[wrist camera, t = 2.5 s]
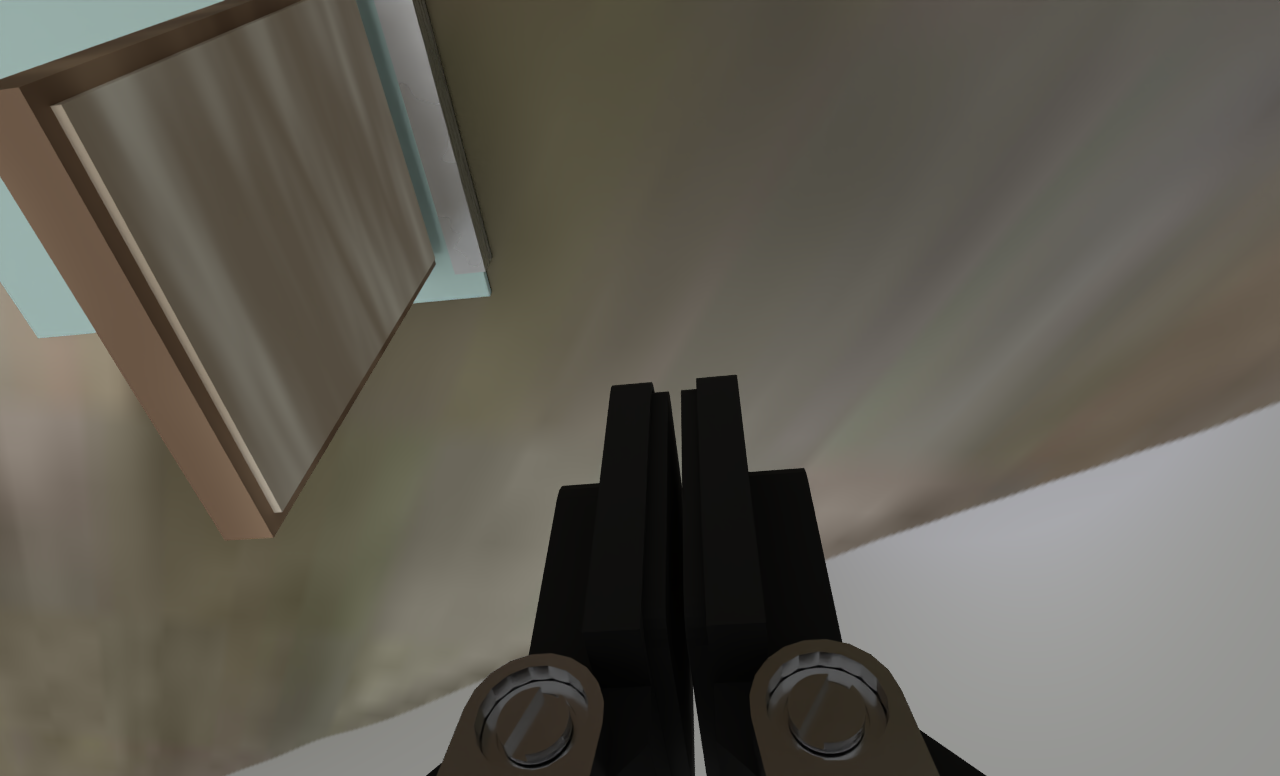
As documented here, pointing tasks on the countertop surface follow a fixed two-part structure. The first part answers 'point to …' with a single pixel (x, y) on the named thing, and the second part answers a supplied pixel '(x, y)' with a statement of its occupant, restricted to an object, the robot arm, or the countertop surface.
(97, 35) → the mat
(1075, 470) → the countertop surface
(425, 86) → the rail
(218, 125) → the walnut board
